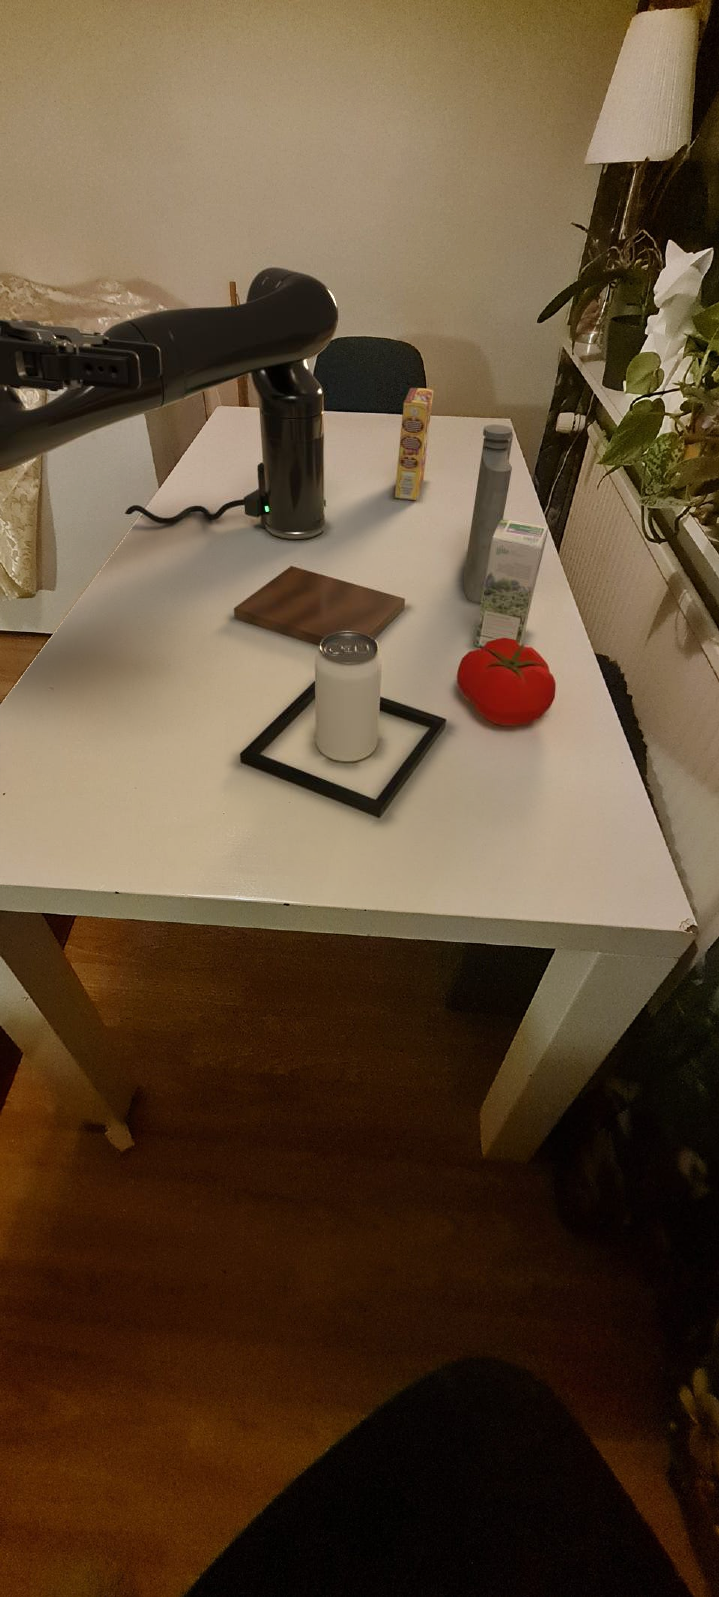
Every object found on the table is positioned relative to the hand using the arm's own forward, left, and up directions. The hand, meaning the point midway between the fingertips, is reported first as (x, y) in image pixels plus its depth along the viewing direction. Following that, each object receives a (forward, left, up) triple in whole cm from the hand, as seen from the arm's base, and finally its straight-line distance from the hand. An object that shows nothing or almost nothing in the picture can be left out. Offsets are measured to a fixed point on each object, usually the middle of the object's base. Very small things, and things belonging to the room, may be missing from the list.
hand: (150, 365), depth 51 cm
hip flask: (+11, +50, -35) cm, 62 cm away
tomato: (+25, +22, -35) cm, 48 cm away
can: (+13, +7, -35) cm, 38 cm away
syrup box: (+20, +35, -35) cm, 53 cm away
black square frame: (+13, +7, -35) cm, 38 cm away
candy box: (-11, +74, -35) cm, 82 cm away
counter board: (-3, +29, -35) cm, 45 cm away
